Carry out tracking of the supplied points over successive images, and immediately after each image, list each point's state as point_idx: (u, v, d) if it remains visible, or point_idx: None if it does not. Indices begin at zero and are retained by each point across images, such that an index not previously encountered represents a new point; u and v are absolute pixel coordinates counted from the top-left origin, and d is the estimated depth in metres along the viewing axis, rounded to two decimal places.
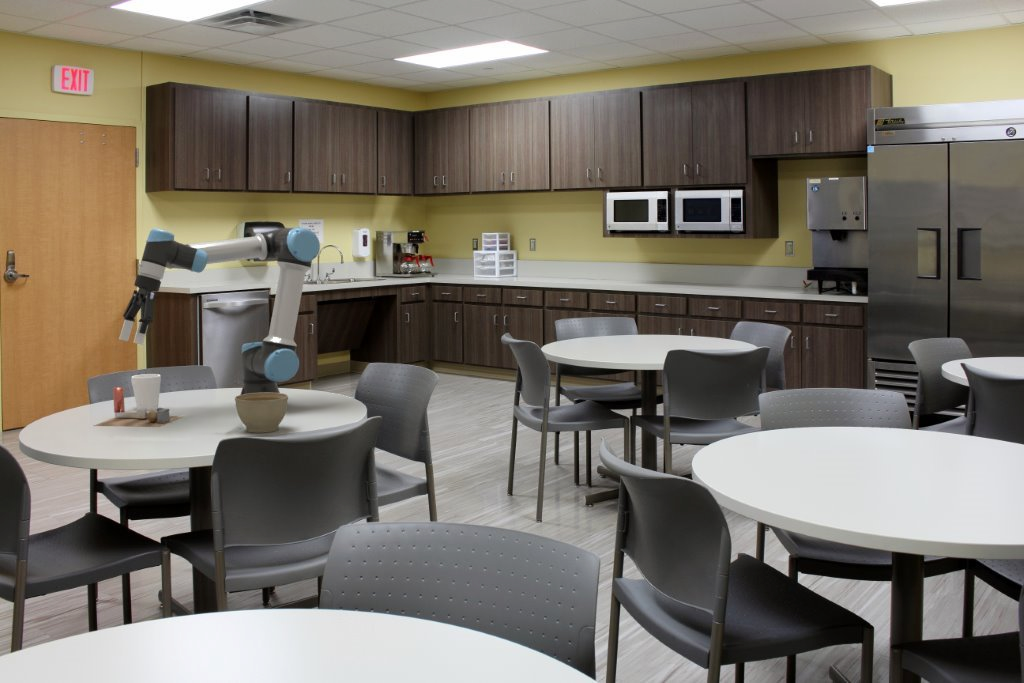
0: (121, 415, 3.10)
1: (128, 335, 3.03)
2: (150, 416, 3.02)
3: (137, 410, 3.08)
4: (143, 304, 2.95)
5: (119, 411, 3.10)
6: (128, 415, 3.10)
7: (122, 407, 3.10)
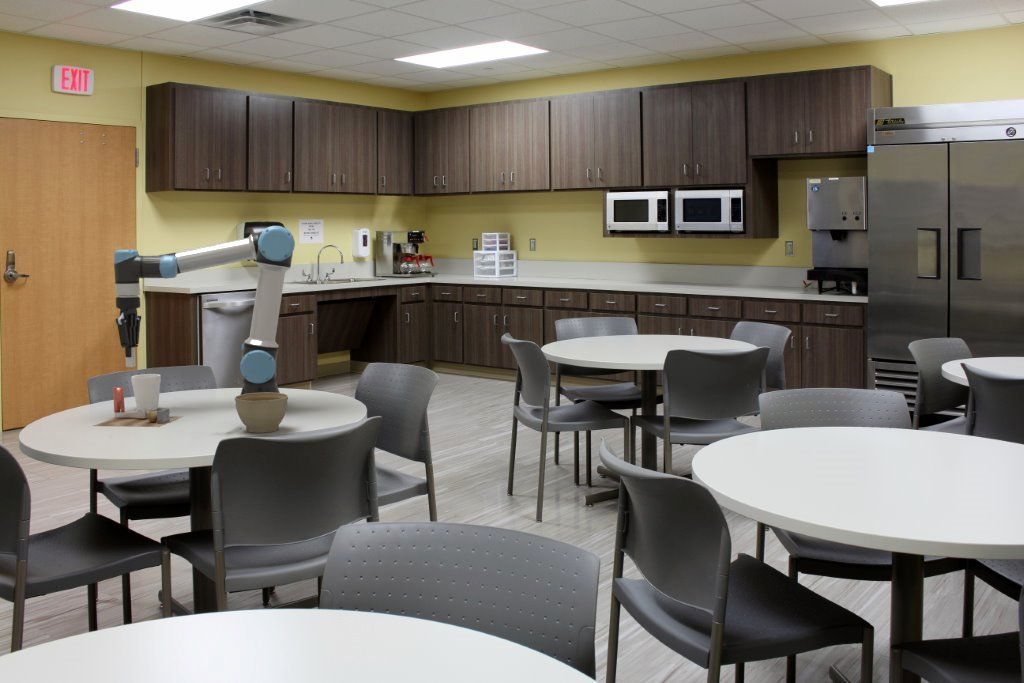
0: (121, 415, 3.10)
1: None
2: (150, 416, 3.02)
3: (137, 410, 3.08)
4: None
5: (119, 411, 3.10)
6: (128, 415, 3.10)
7: (122, 407, 3.10)
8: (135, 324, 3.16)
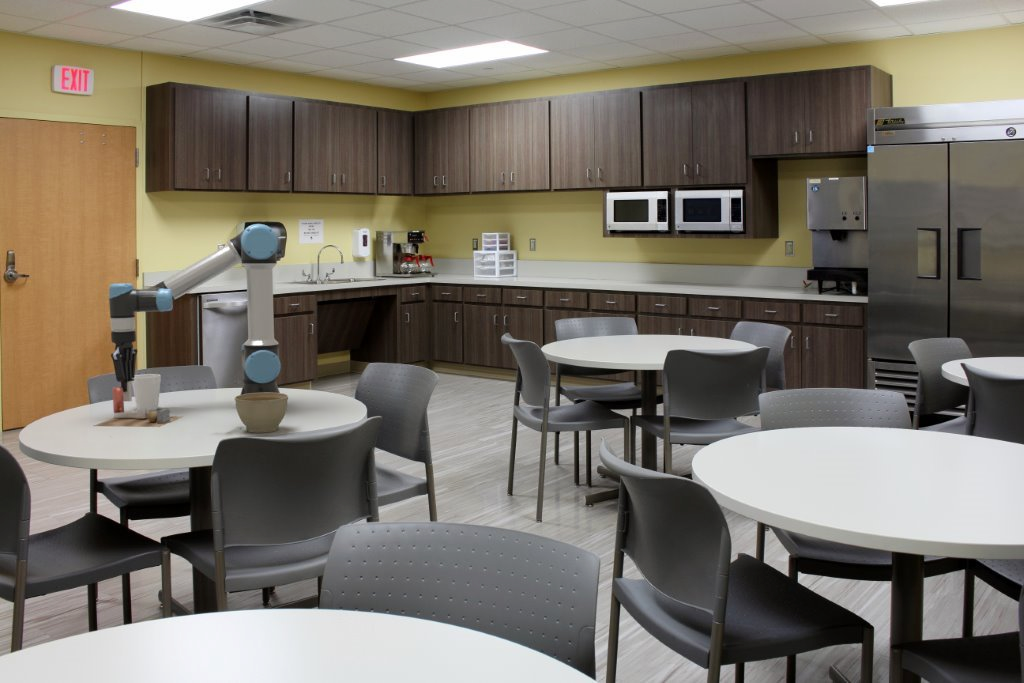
0: (121, 415, 3.10)
1: None
2: (150, 416, 3.02)
3: (137, 410, 3.08)
4: None
5: (119, 411, 3.09)
6: (128, 415, 3.09)
7: (122, 407, 3.10)
8: (131, 358, 3.14)
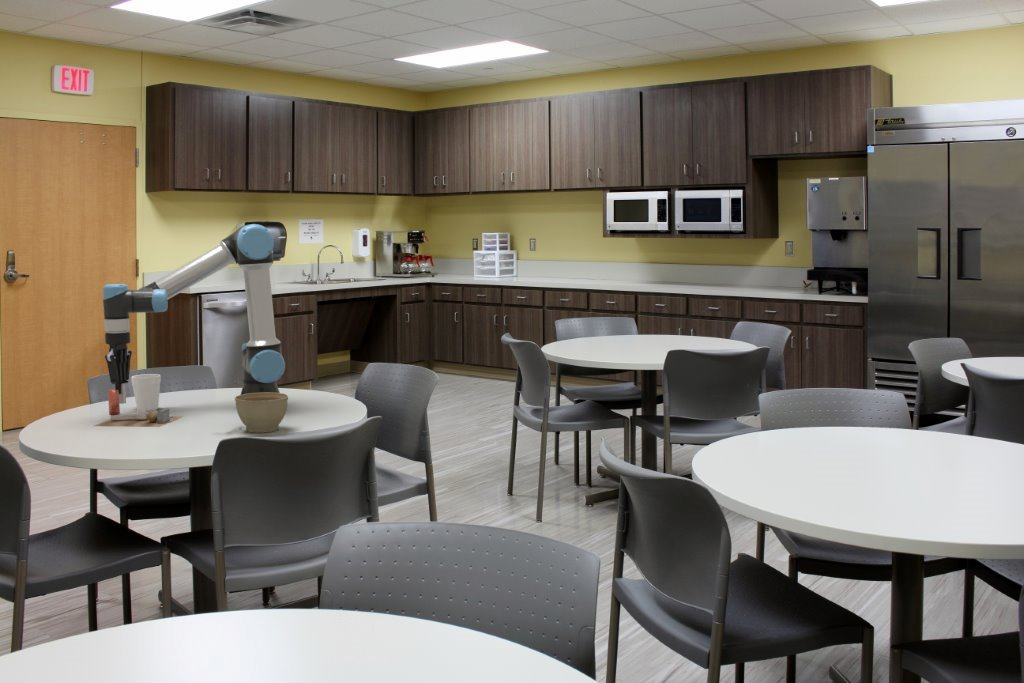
0: (118, 417, 3.06)
1: None
2: (150, 416, 3.02)
3: (137, 411, 3.06)
4: None
5: (116, 413, 3.05)
6: (126, 417, 3.06)
7: (118, 409, 3.06)
8: (125, 360, 3.10)
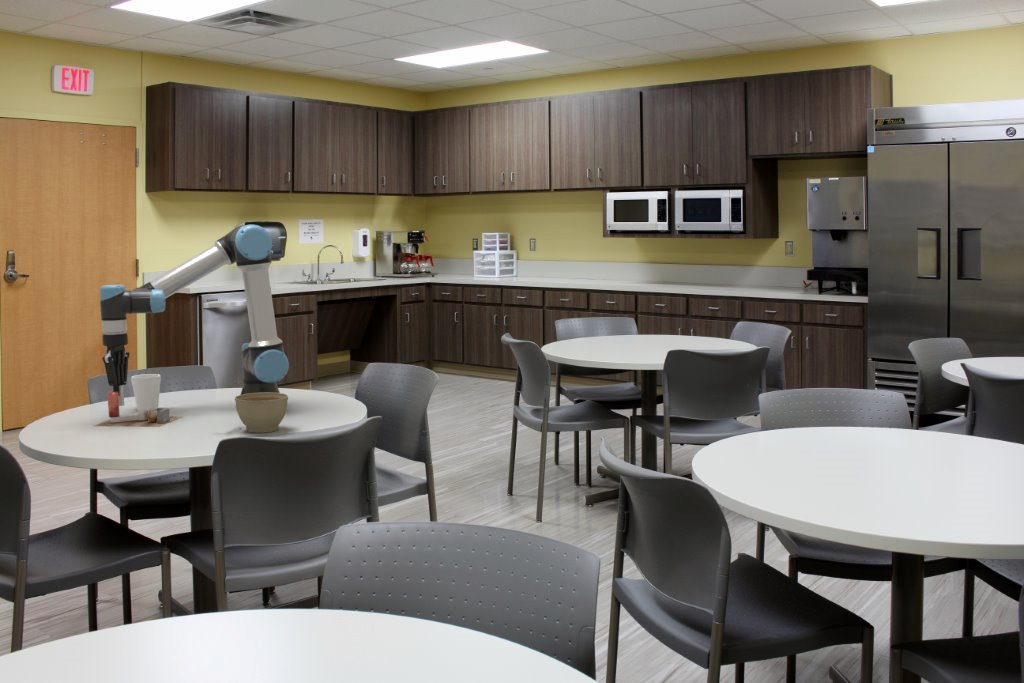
0: (119, 419, 3.03)
1: None
2: (150, 416, 3.02)
3: (140, 412, 3.04)
4: None
5: (117, 415, 3.02)
6: (127, 418, 3.04)
7: None
8: (123, 361, 3.06)
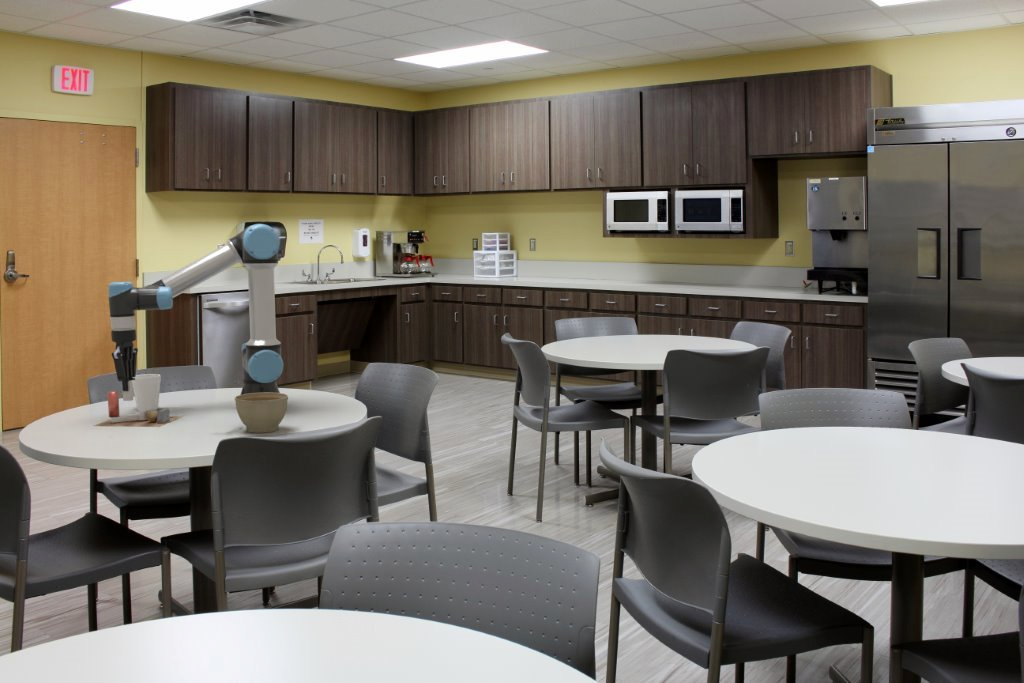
0: (119, 419, 3.03)
1: None
2: (150, 416, 3.02)
3: (140, 412, 3.04)
4: None
5: (117, 415, 3.02)
6: (127, 418, 3.04)
7: None
8: (131, 357, 3.12)
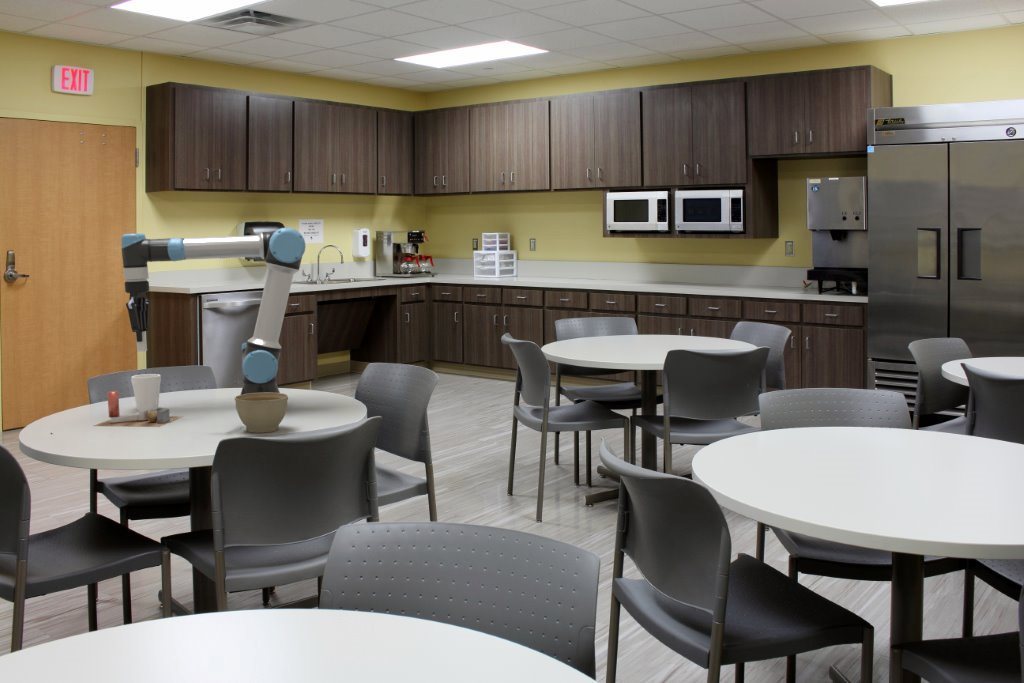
0: (119, 419, 3.03)
1: None
2: (150, 416, 3.02)
3: (140, 412, 3.04)
4: None
5: (117, 415, 3.02)
6: (127, 418, 3.04)
7: None
8: (145, 308, 3.15)
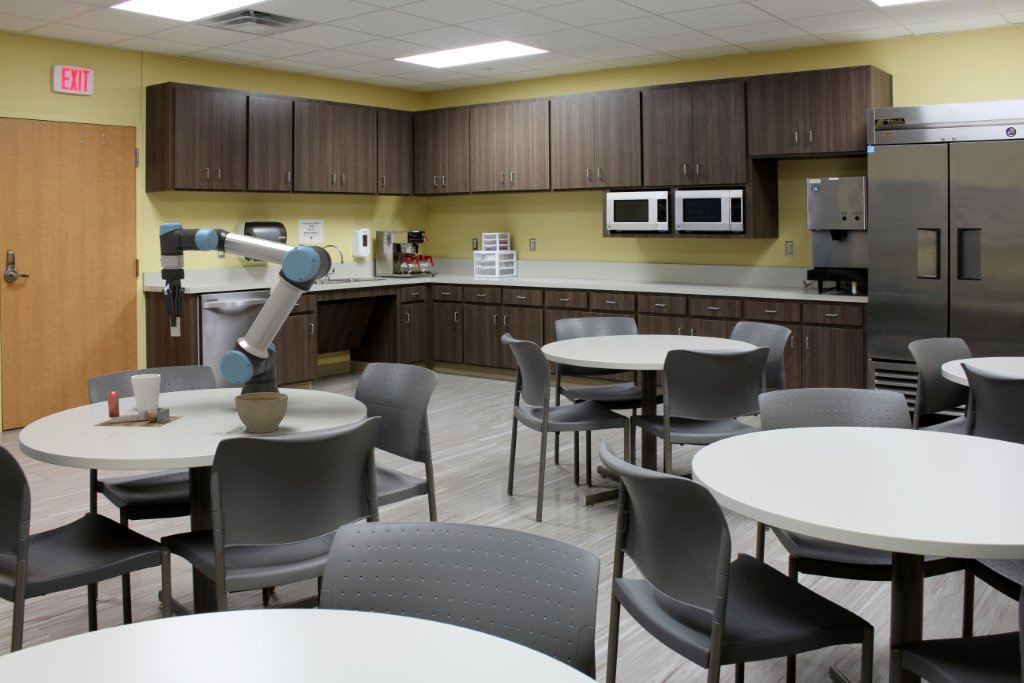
0: (119, 419, 3.03)
1: None
2: (150, 416, 3.02)
3: (140, 412, 3.04)
4: None
5: (117, 415, 3.02)
6: (127, 418, 3.04)
7: None
8: (180, 295, 3.29)
